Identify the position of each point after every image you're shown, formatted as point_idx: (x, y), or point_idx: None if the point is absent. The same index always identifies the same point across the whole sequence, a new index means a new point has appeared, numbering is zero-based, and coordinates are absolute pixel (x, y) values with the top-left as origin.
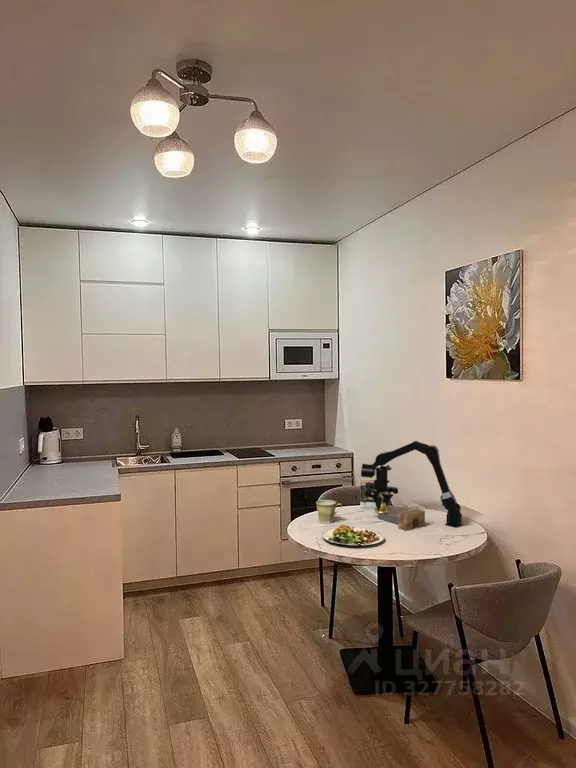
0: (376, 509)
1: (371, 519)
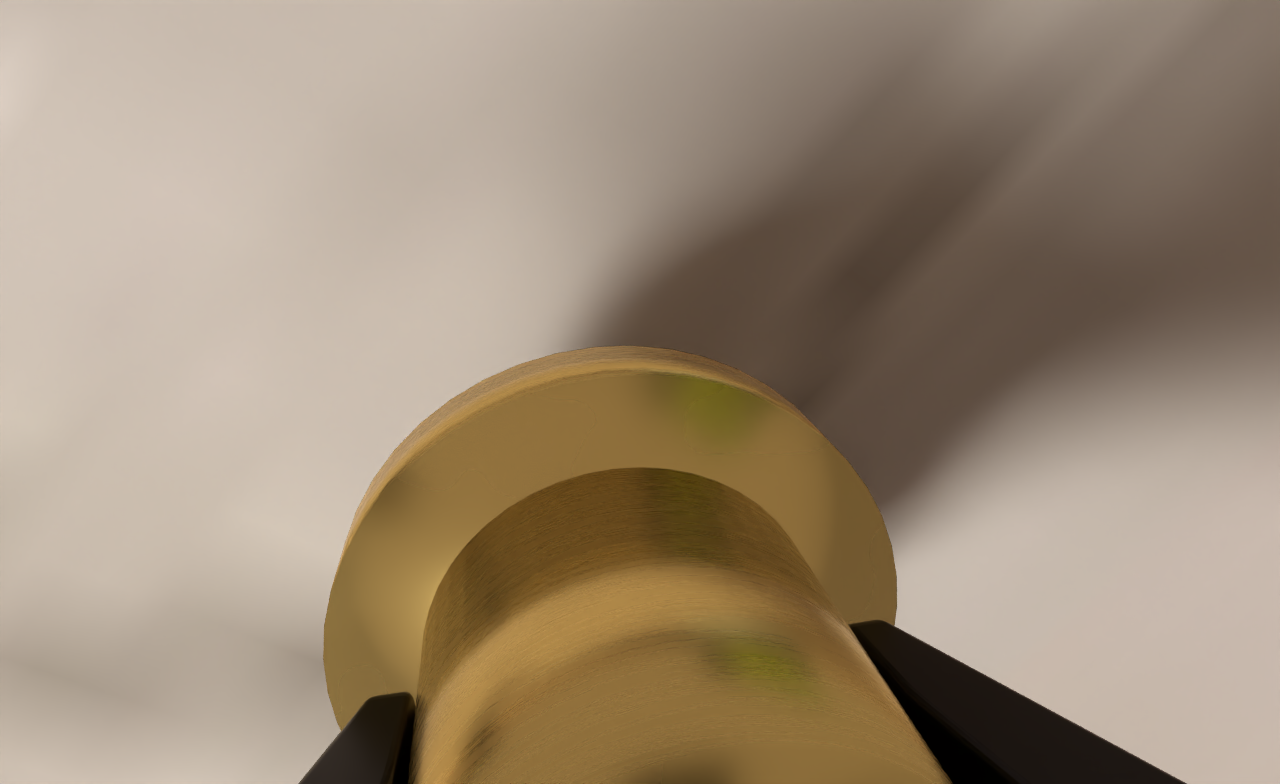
0: (517, 435)
1: (212, 394)
